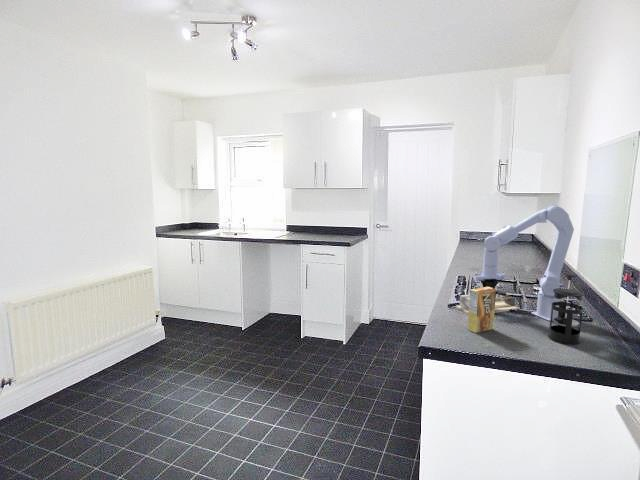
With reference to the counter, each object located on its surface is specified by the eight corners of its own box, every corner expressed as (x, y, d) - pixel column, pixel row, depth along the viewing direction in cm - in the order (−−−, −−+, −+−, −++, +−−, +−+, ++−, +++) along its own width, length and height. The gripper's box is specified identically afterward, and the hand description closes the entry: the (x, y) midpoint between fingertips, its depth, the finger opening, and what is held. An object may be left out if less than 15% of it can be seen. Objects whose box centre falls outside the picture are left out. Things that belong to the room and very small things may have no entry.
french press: (584, 347, 131) (591, 279, 127) (551, 343, 134) (557, 276, 131) (574, 334, 142) (580, 271, 138) (544, 330, 145) (550, 269, 141)
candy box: (484, 325, 150) (487, 286, 148) (493, 329, 146) (496, 288, 144) (467, 329, 146) (469, 289, 144) (476, 333, 143) (478, 292, 140)
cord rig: (519, 309, 168) (520, 296, 167) (470, 315, 161) (471, 301, 160) (502, 302, 177) (503, 289, 176) (455, 307, 171) (456, 294, 170)
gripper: (498, 262, 172) (496, 292, 174) (469, 264, 168) (467, 295, 170) (510, 265, 165) (507, 297, 168) (480, 267, 161) (478, 300, 164)
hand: (488, 296), depth 168 cm, fingers closed
